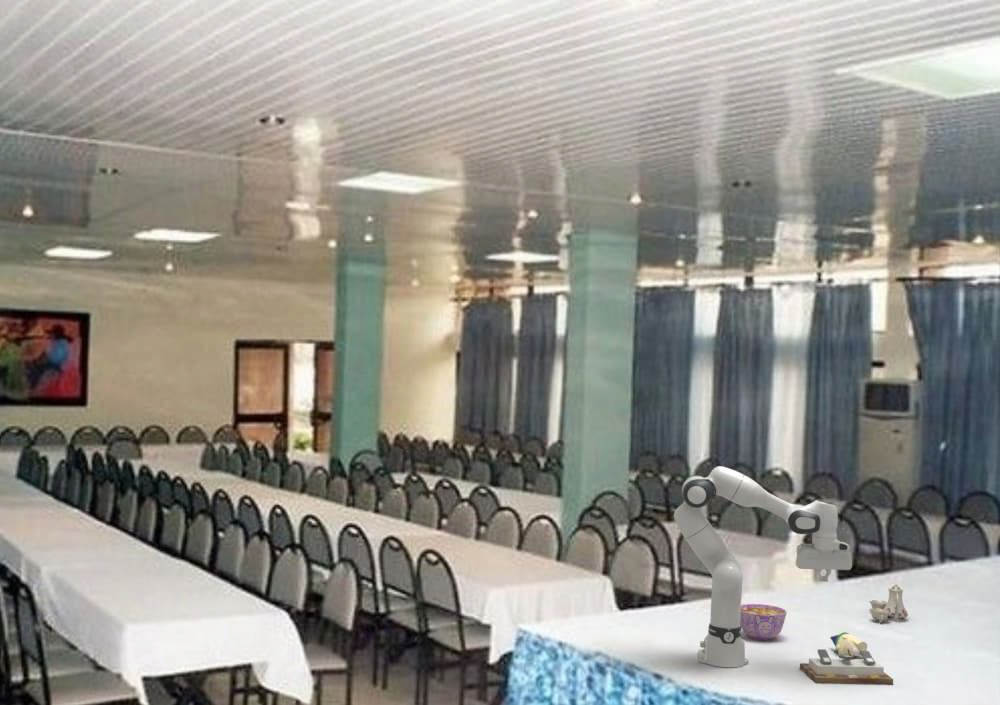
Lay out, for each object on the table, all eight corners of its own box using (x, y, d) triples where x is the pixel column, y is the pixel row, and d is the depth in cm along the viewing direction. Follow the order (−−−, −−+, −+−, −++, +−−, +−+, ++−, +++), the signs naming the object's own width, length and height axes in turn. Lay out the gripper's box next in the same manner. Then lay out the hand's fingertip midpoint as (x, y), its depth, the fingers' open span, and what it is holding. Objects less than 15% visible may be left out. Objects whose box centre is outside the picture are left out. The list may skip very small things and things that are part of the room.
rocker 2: (838, 657, 410) (838, 654, 410) (846, 657, 410) (846, 654, 410) (845, 659, 403) (845, 656, 403) (853, 659, 403) (853, 656, 403)
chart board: (799, 668, 415) (799, 662, 415) (873, 669, 416) (873, 664, 416) (815, 683, 397) (816, 677, 397) (893, 684, 398) (893, 678, 398)
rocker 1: (817, 651, 409) (817, 649, 409) (825, 651, 410) (825, 649, 409) (823, 664, 403) (823, 661, 403) (831, 664, 403) (831, 662, 403)
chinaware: (866, 613, 515) (863, 577, 515) (904, 613, 511) (901, 576, 511) (872, 628, 488) (869, 590, 488) (912, 627, 484) (909, 589, 484)
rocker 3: (860, 653, 410) (860, 650, 410) (868, 653, 410) (868, 650, 410) (866, 664, 404) (867, 661, 403) (874, 664, 404) (875, 662, 403)
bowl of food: (766, 646, 445) (767, 617, 444) (725, 635, 460) (726, 607, 460) (795, 639, 458) (796, 611, 458) (755, 628, 473) (756, 601, 473)
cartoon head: (860, 669, 426) (824, 653, 445) (877, 654, 430) (841, 639, 448) (852, 651, 424) (816, 635, 442) (869, 636, 427) (833, 622, 446)
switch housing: (808, 666, 411) (809, 655, 411) (872, 667, 412) (873, 656, 412) (817, 674, 401) (818, 663, 401) (883, 675, 402) (883, 664, 402)
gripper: (799, 544, 409) (798, 582, 409) (854, 546, 410) (853, 583, 410) (794, 541, 416) (792, 578, 416) (848, 543, 417) (846, 580, 417)
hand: (823, 581), depth 413 cm, fingers closed
